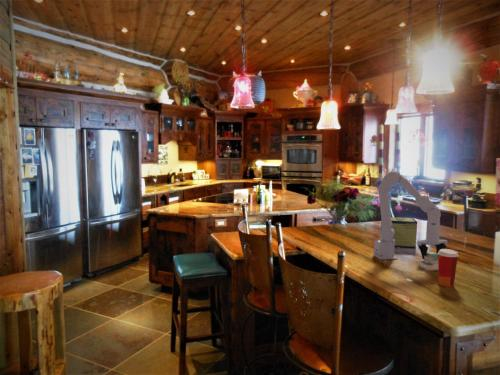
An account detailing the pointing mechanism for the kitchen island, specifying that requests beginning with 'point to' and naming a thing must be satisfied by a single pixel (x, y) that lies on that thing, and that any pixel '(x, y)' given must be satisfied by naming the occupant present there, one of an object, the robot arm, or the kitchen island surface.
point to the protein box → (405, 232)
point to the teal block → (433, 255)
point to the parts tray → (428, 268)
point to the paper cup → (447, 267)
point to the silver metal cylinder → (428, 259)
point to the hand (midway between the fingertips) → (431, 259)
